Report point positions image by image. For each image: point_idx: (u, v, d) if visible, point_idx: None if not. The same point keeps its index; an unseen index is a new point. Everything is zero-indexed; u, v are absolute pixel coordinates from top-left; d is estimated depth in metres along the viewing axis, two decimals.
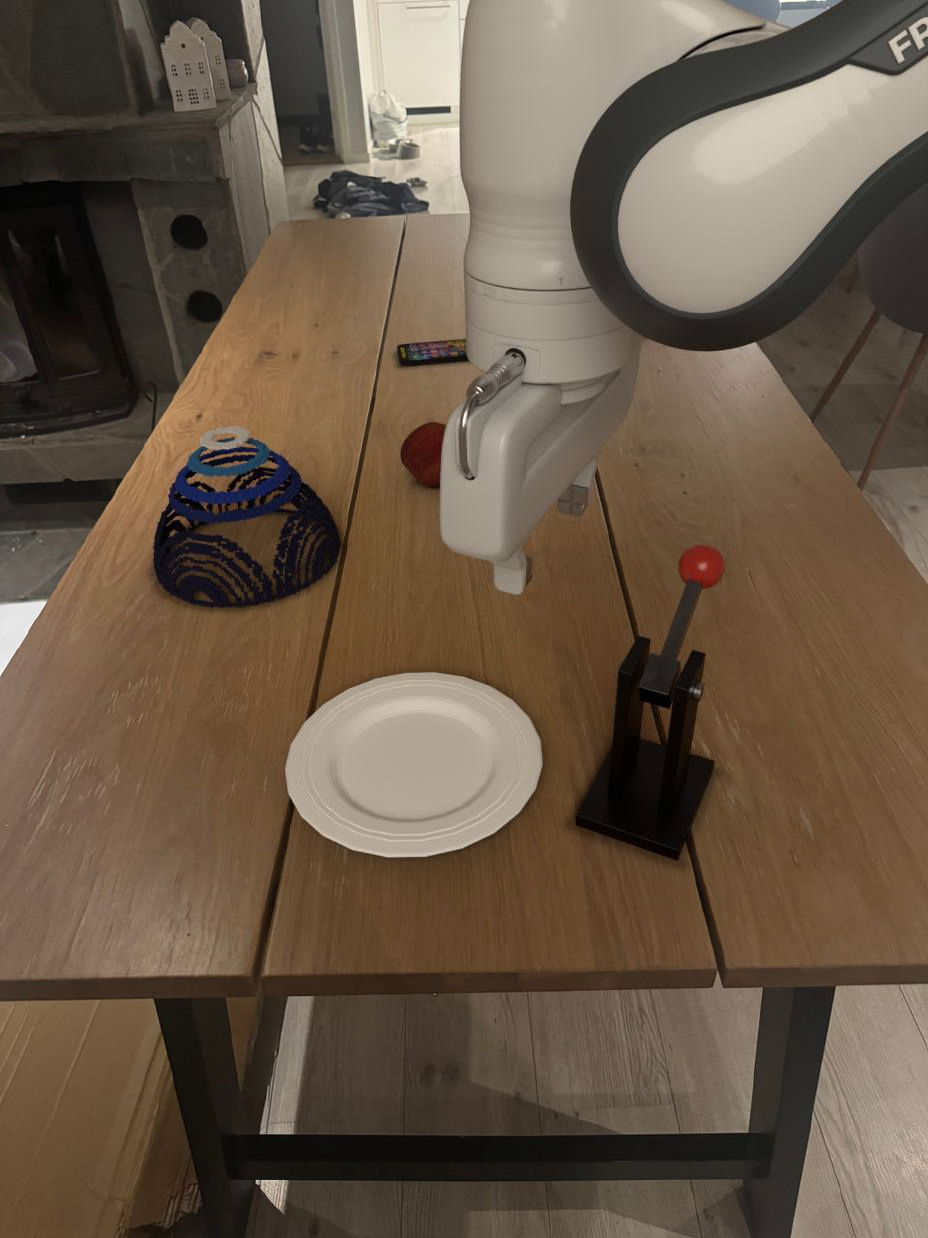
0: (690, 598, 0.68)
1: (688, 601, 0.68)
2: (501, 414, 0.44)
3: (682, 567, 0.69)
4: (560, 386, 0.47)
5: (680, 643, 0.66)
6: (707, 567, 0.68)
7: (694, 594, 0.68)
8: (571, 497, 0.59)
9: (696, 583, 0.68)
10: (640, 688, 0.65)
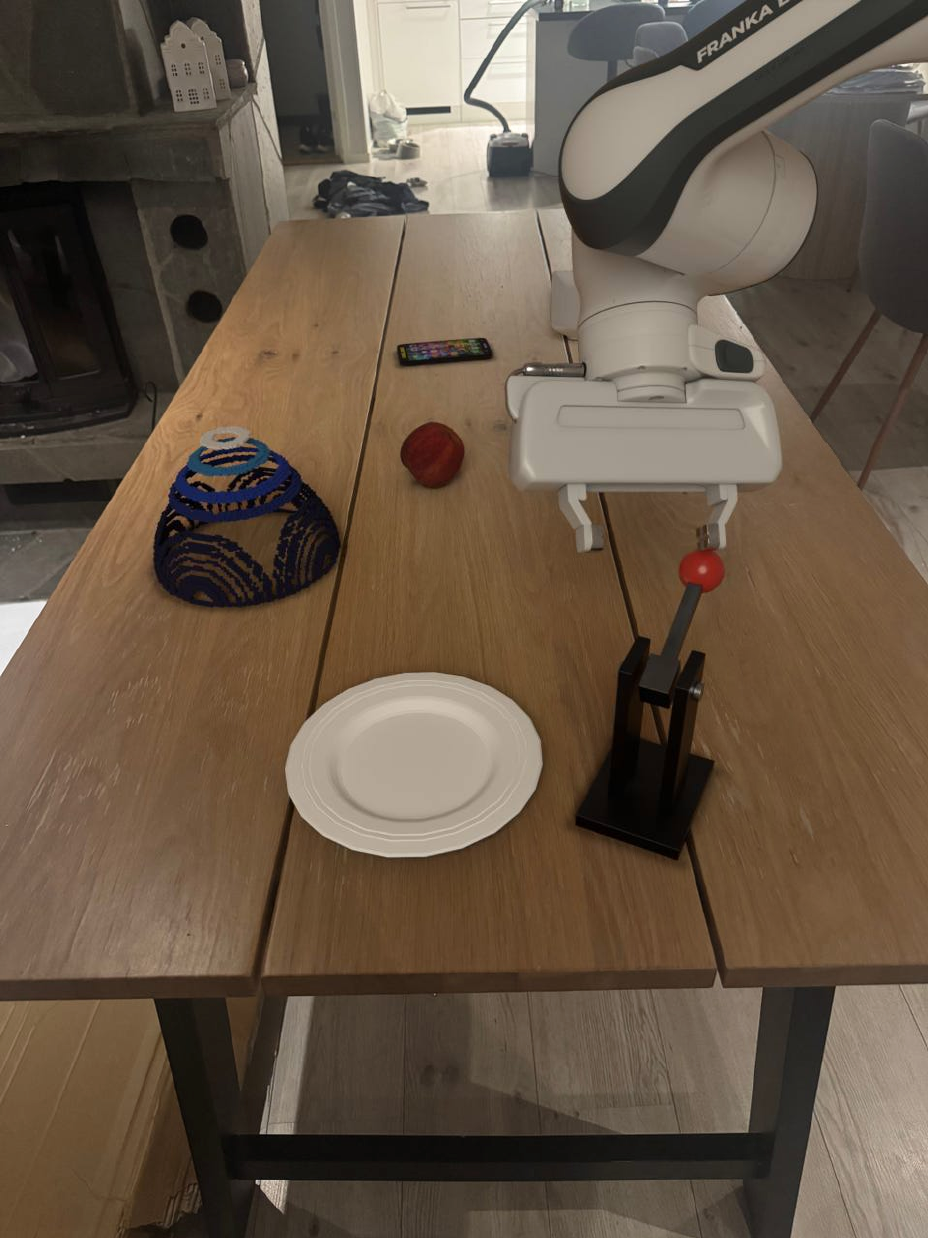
0: (690, 600, 0.68)
1: (688, 604, 0.68)
2: None
3: (682, 570, 0.69)
4: (616, 386, 0.66)
5: (680, 644, 0.67)
6: (707, 570, 0.68)
7: (694, 597, 0.68)
8: (703, 533, 0.68)
9: (696, 586, 0.69)
10: (640, 687, 0.65)
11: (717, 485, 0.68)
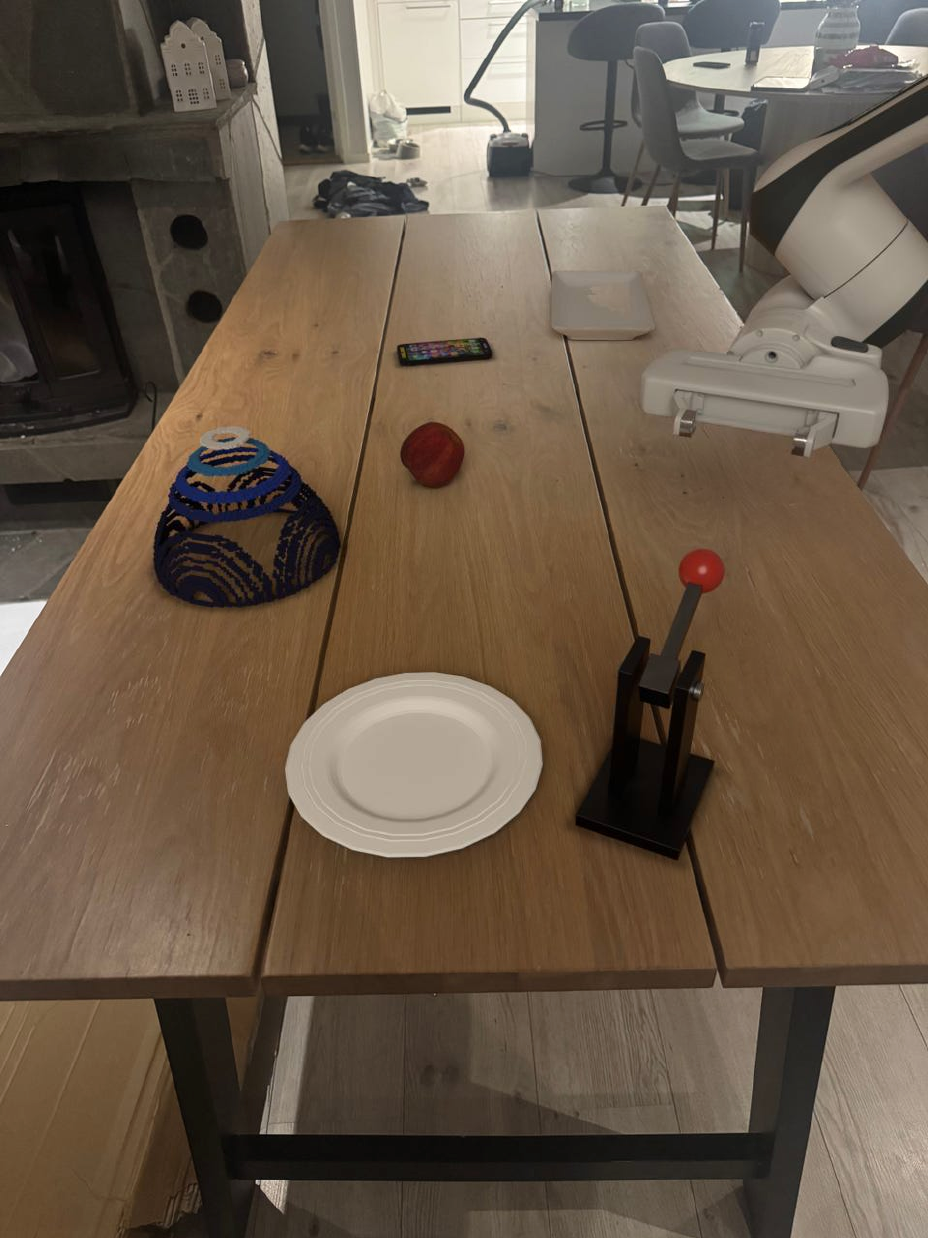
0: (690, 600, 0.68)
1: (688, 604, 0.68)
2: None
3: (682, 570, 0.69)
4: (741, 356, 0.82)
5: (680, 644, 0.67)
6: (707, 570, 0.68)
7: (694, 597, 0.68)
8: None
9: (696, 586, 0.69)
10: (640, 687, 0.65)
11: None
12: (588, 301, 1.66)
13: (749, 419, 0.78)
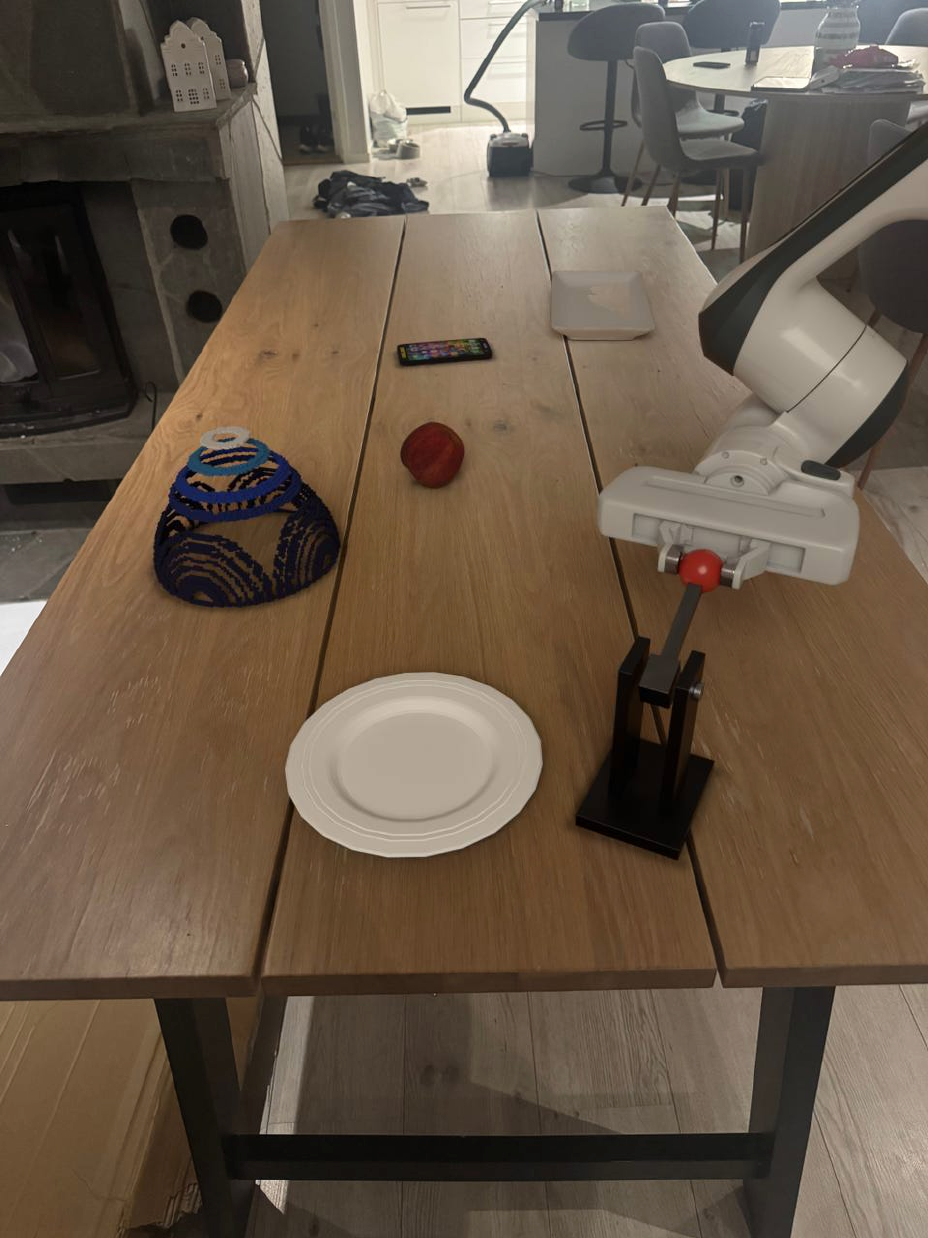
0: (690, 600, 0.68)
1: (688, 604, 0.68)
2: None
3: (682, 570, 0.69)
4: (706, 477, 0.77)
5: (680, 644, 0.67)
6: (707, 570, 0.68)
7: (694, 597, 0.68)
8: None
9: (696, 586, 0.69)
10: (640, 687, 0.65)
11: None
12: (588, 301, 1.66)
13: (712, 547, 0.73)
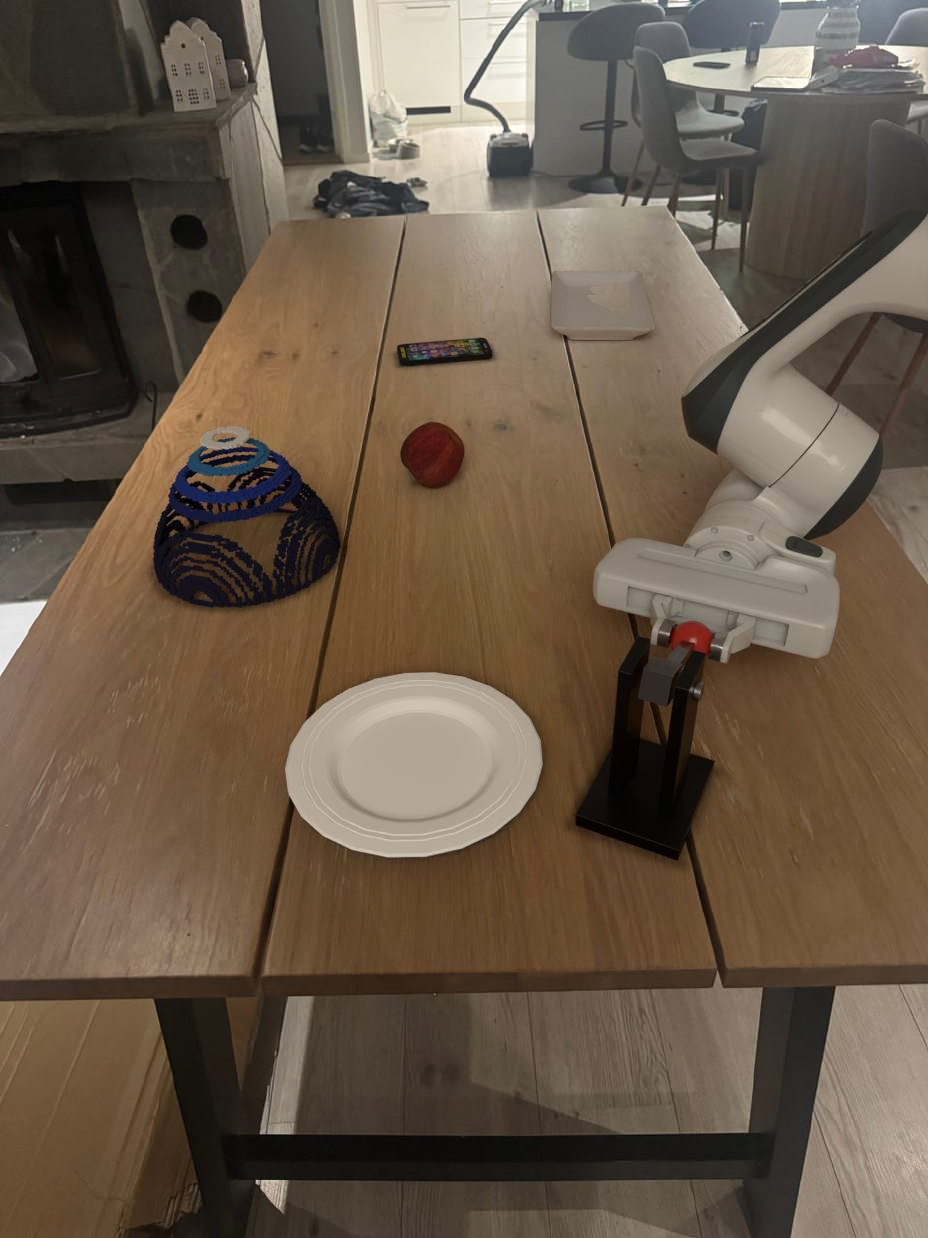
0: (685, 647, 0.71)
1: (684, 648, 0.71)
2: None
3: (676, 632, 0.74)
4: (697, 550, 0.82)
5: None
6: (701, 631, 0.73)
7: (688, 646, 0.72)
8: None
9: (690, 642, 0.72)
10: (644, 670, 0.64)
11: None
12: (588, 301, 1.66)
13: (701, 619, 0.78)
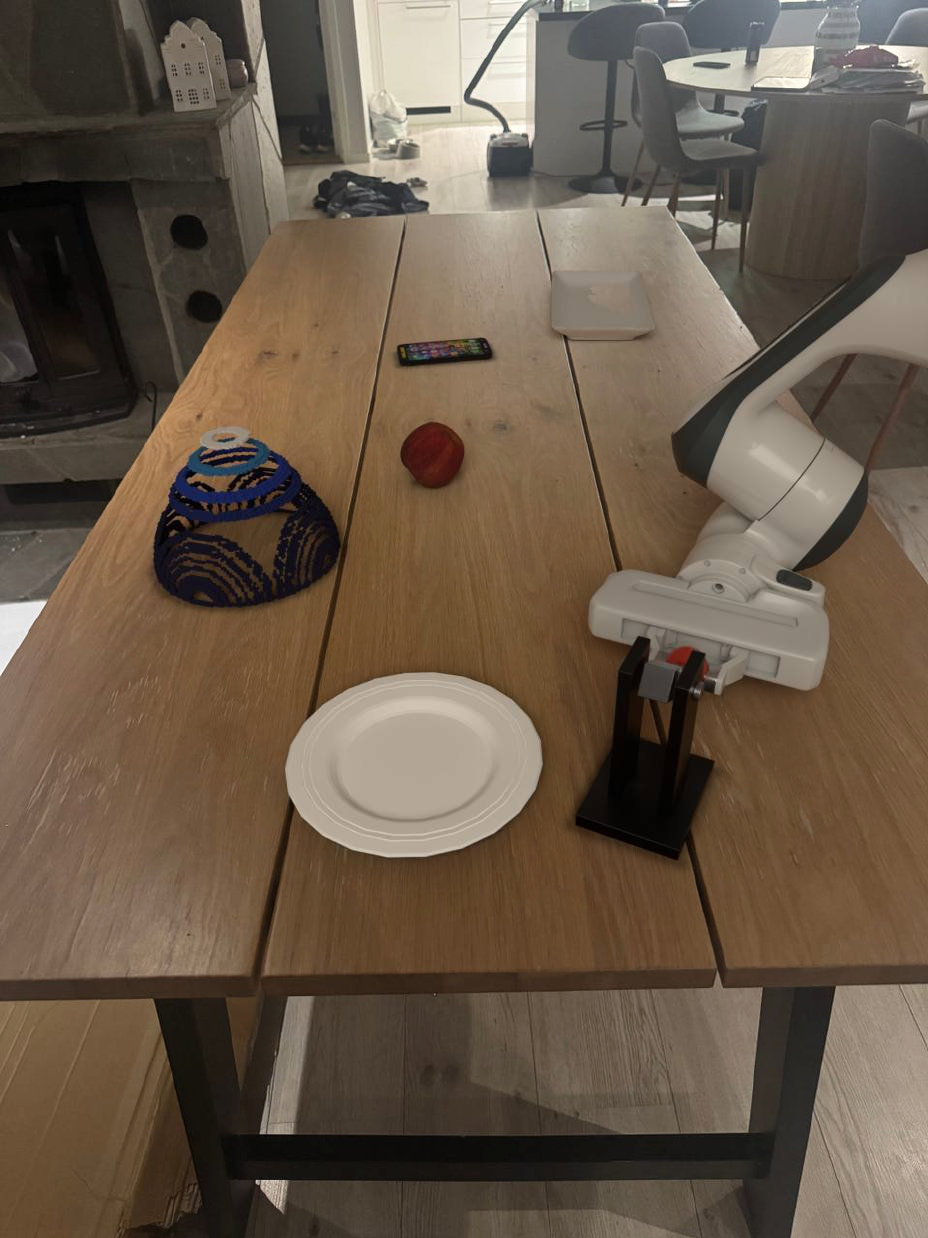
0: (681, 665, 0.72)
1: (680, 665, 0.71)
2: None
3: (672, 654, 0.74)
4: (689, 582, 0.83)
5: None
6: None
7: (684, 665, 0.72)
8: None
9: (685, 663, 0.73)
10: (646, 666, 0.65)
11: (731, 649, 0.77)
12: (588, 301, 1.66)
13: None
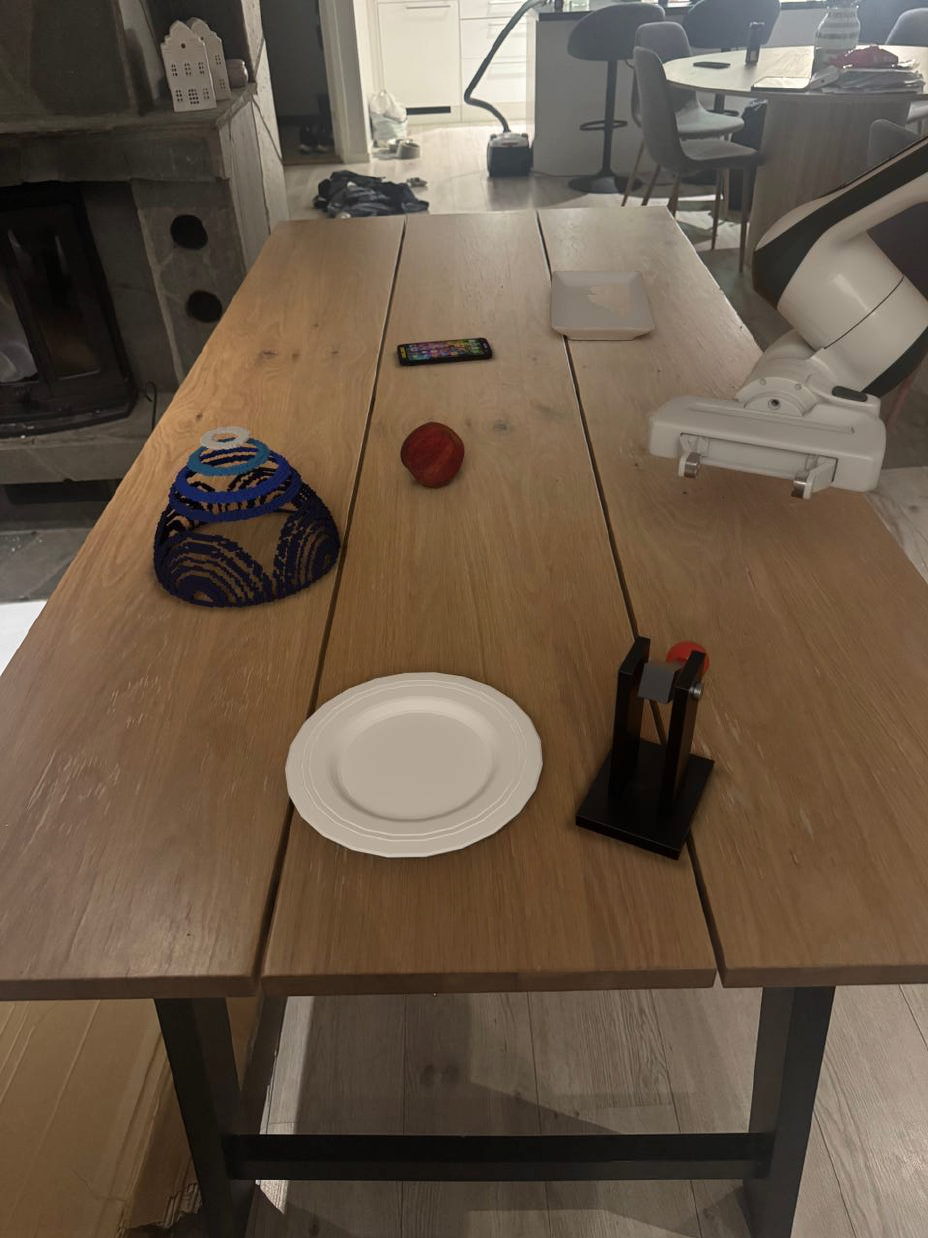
0: (682, 661, 0.72)
1: (681, 662, 0.71)
2: None
3: (673, 650, 0.74)
4: (745, 403, 0.85)
5: None
6: (697, 649, 0.73)
7: (685, 661, 0.72)
8: None
9: (686, 659, 0.73)
10: (646, 667, 0.65)
11: (818, 459, 0.78)
12: (588, 301, 1.66)
13: (752, 463, 0.82)
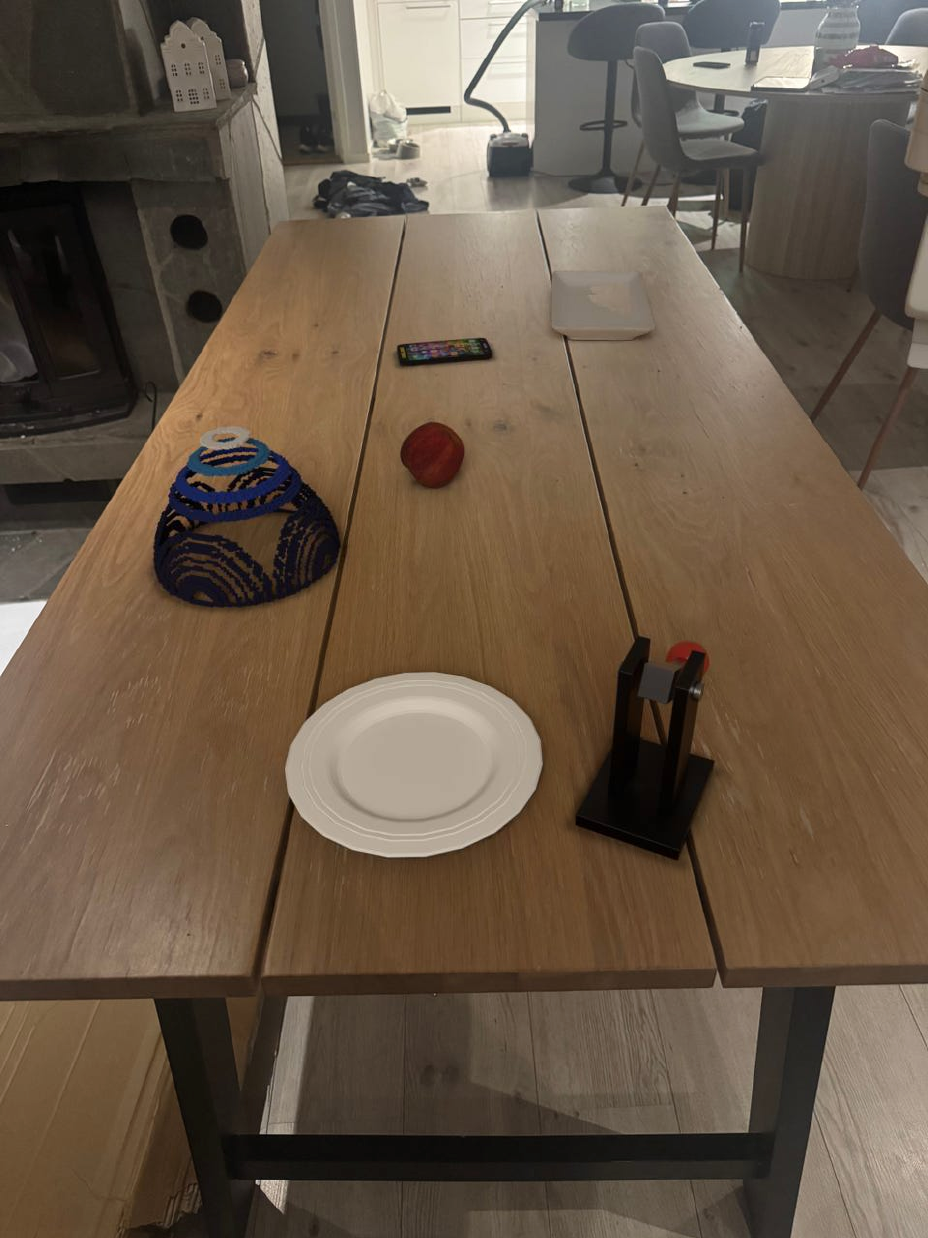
0: (682, 661, 0.72)
1: (681, 662, 0.71)
2: None
3: (673, 650, 0.74)
4: None
5: None
6: (697, 649, 0.73)
7: (685, 661, 0.72)
8: None
9: (686, 659, 0.73)
10: (646, 667, 0.65)
11: None
12: (588, 301, 1.66)
13: None
